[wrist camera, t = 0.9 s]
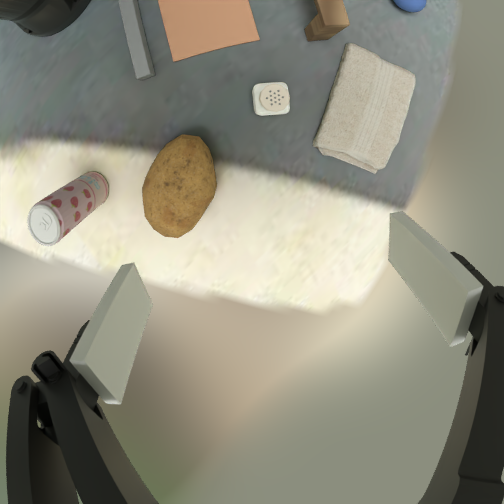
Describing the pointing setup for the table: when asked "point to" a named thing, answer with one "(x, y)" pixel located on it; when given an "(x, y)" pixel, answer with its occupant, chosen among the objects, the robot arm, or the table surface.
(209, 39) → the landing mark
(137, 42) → the grey long bar
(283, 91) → the salt shaker
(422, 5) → the ball
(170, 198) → the potato
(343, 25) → the bridge
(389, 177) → the table surface
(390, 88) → the washcloth
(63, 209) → the beverage can
